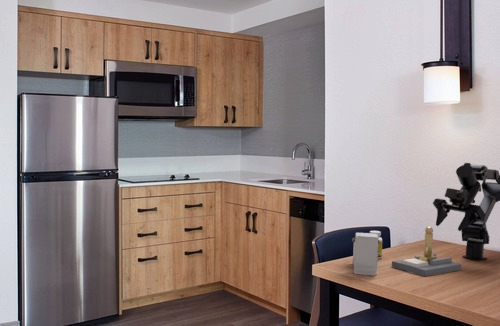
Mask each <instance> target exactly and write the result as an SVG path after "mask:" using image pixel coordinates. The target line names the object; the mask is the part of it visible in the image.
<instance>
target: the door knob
mask: <svg viewBox="0 0 500 326" xmlns="http://www.w3.org/2000/svg"><path fill="white" fill-rule="evenodd" d="M424 231H425V233H424V246H423V248H424V250H423V254H422V255H423V256H420V255H418V256H419V260H422V261H426V262H428V263H430V260H434V259H436V258H437V255H436V256H433V255H432V254H433V241H434V239H433V238H434V233H433V232H434V228H432V227H431V226H426V227H425V229H424Z"/></svg>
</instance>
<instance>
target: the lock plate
mask: <svg viewBox="0 0 500 326" xmlns="http://www.w3.org/2000/svg"><path fill="white" fill-rule="evenodd" d="M423 255H424V254H422V255H421V254H420V255H415V256H414V257H411V258H409V259H413V258H415V259H419V256H423ZM432 255H433V256H436V259H434V260H430V263H428V266H422V267H413V266H409V265H405V264H402V260H406V259H407V258H405V259H404V258H403V259H397V260H393V261H391V267H392V268H395V269H398V270H401V271H405V272H408V273H412V274H415V275H419V276H422V277H429V276H433V275H434V276H435V275H441V274H447V273H451V272H457V271H461V270H462V263H459V262H455V261H453V259H452V257H450V256H448V257H447V256H446V257H442V258H438V257H437V254H436V253H433V252H432Z"/></svg>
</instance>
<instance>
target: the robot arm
mask: <svg viewBox="0 0 500 326" xmlns="http://www.w3.org/2000/svg"><path fill="white" fill-rule="evenodd" d="M455 174H456V176H457V179H458V181H459V183H460V185H462V186H461V187H460V189H455V188H449V187H447V188H446V190H445V194H444V197H445V198H448V199H449V202H450V204H449V203H448V202H447V200H446V199H443V198H438V197H437V198H435V199H433V202H432V205H433V206H434V208H435V209H436V211H437V214H436V222H435V225H436V226H437V227H439V226H440V225H441V224H442V223H443V222H444V220H445V219H446V218H447V217H448V213H450V211H456V212H460V213H464V216H463V218H462V220H461V221H460V224H459V225H458V227H457V231H458V232H461V241H462V242H466V246H465V247H466V248H465V255H462V256H461V257H462V258H465V259H470V260H474V261H481V260H487V258H488V257H486V256H484V249H485V248H484V247H485V245H489V244H490V235H489V231H488V228H487V221H489V220H488V219H489V217H490V215H491V214H492V211H493V209H494V207H495V204H496V203H498V202H500V172H499V170H497V169H489V168H488V166H486V165H482V164H471V162H464V163H463V164H462V165H460V166H459V167H458V168H456V171H455ZM487 180H491V181H495V182H491V181H490V182H489V181H487ZM481 181H482V183H480V182H481ZM486 181H487V182H486ZM479 192H482V193H483V198H482V199H481V201H480V203H479V205H478V204H475V203H476V200H475V199H476V196H477V194H478V193H479Z"/></svg>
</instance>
